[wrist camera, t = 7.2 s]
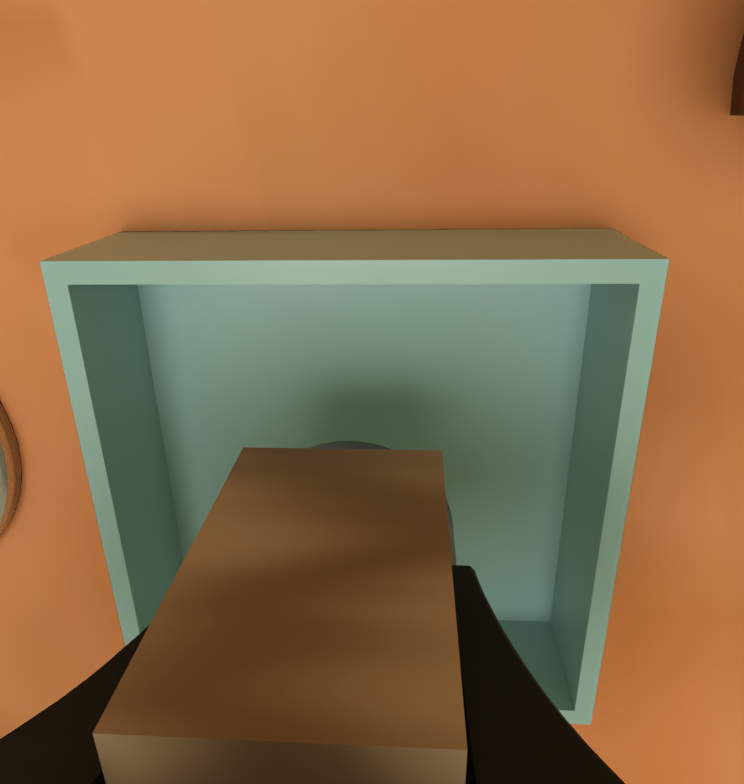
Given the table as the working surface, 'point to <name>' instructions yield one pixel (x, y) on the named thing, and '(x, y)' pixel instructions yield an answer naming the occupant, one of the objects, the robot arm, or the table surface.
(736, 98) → the food container
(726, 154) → the table surface
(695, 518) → the table surface
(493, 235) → the teal bin
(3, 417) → the steel base plate
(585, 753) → the robot arm
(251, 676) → the brown wooden block
